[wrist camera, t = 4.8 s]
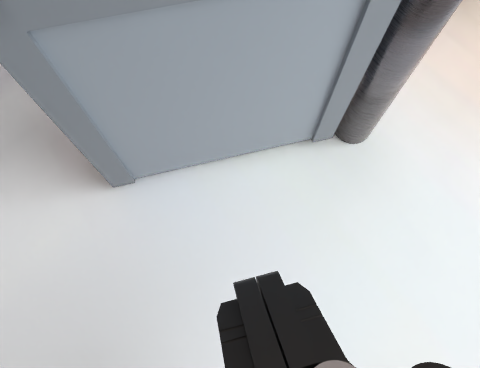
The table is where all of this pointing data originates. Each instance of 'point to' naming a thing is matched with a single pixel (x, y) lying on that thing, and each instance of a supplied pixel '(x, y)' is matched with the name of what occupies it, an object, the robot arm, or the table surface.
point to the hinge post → (394, 63)
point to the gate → (189, 74)
